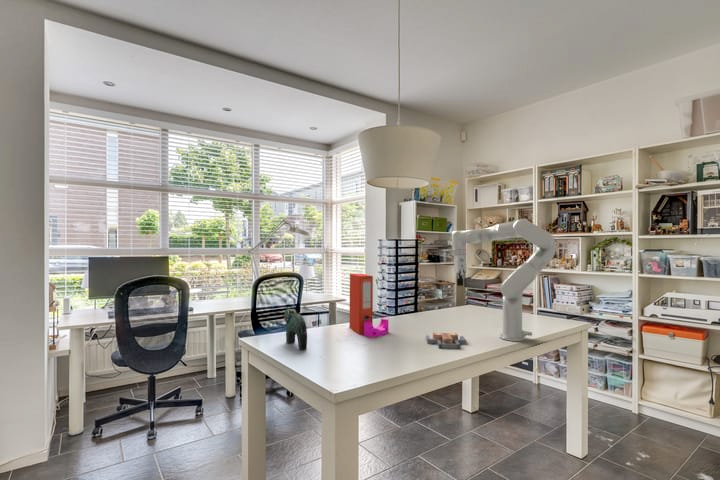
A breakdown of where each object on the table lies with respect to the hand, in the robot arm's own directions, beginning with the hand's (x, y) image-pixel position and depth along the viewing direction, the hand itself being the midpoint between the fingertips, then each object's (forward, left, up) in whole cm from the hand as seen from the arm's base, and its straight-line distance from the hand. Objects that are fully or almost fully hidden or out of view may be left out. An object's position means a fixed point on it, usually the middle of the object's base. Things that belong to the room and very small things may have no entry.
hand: (460, 285), depth 207 cm
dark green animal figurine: (+85, +31, -27) cm, 94 cm away
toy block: (+46, +6, -27) cm, 53 cm away
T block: (+11, +24, -26) cm, 37 cm away
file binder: (+56, -1, -27) cm, 62 cm away
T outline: (+11, +23, -26) cm, 37 cm away
